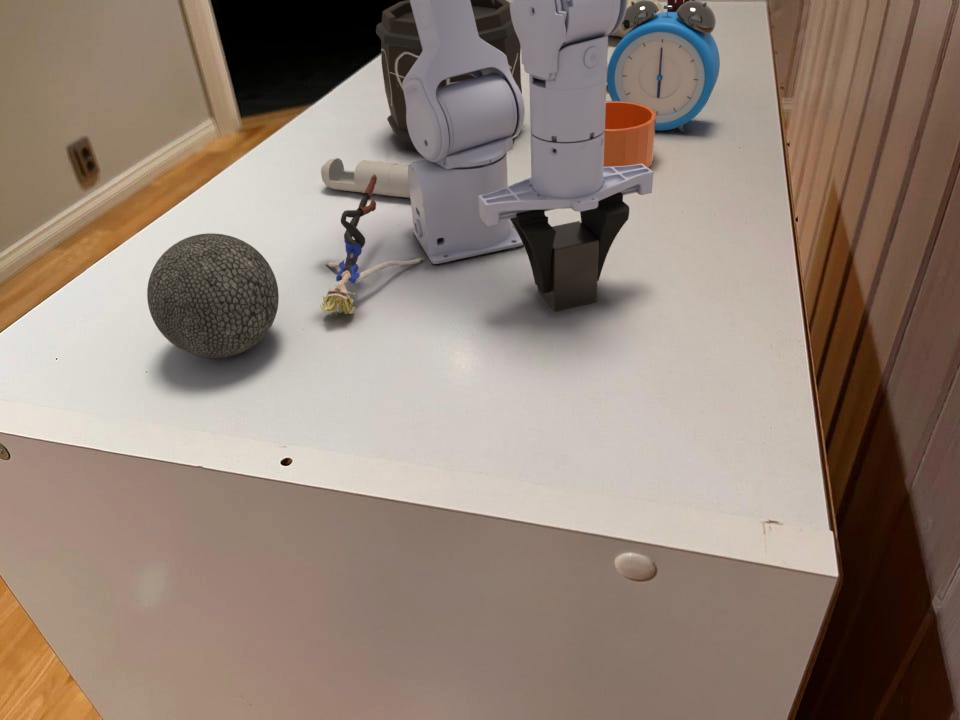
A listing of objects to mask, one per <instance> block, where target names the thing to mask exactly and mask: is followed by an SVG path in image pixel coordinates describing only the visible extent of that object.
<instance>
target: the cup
mask: <svg viewBox="0 0 960 720" xmlns="http://www.w3.org/2000/svg"><path fill="white" fill-rule="evenodd" d="M655 129H656V113H655V112H654V110H652V109H651V108H649V107H647V106H644V105H641V104H638V103H632V102H625V101H612V100H608V101H607V100H606V111H605V134H604V166H603V167H613V166H629V165H636V164H643V165H645V166H646V167H647V168H649V169H650V168H651V166H652V164H653V162H654V156H655V143H656V142H655V141H656V131H655Z"/></svg>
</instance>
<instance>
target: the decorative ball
mask: <svg viewBox="0 0 960 720" xmlns="http://www.w3.org/2000/svg"><path fill="white" fill-rule="evenodd" d="M146 290H147V291H146V296H147V297H146V298H147V306H148V310H149V313H150V316H151V318H152V320H153V323H154V324H155V325H154V326H156V328H157V330H158V331H159V332H160V333H161V335H162V337H164V338H165V339H166V340H167V341H168V342H169V343H171V344H172V345H173V346H175V347H176V348H178V349H179V350H181V351H183V352H185V353H187V354H190V355H193V356H196V357H200V358H208V359H222V358H229V357H234V356H236V355H239V354H242V353H244V352H246V351H247V350H249V349H251V348H252V347H254V346H255V345H257V344H258V343H260V341H261V340H263V338H264V337H265V336H266V335H267V333H269V331H270V329H271V328H272V325H273V323H274V322H275V319H276V316H277V313H278V309H279V300H280V299H279V298H280V297H279V296H280V294H279V286H278V282H277V279H276V276H275V273H274V271H273V269H272V267H271V265H270V263H269V262H268V260H267V259H266V258H265V257H264V256H263V254H262V253H261V252H259V251H258V250H257V249H256V248H255V247H254V246H252V245H251V244H249V243H248V242H246V241H244V240H242V239H240V238H237V237H235V236H232V235H229V234H223V233H215V232H211V233H209V232H208V233H199V234H195V235H191V236H188V237H185V238H183V239H180V240H179V241H178V242H176V243H174V244H173V245H172V246H170V247H168V249H166V250H165V251H164V252H163V253H162V254H161V256H160V257H159V258H158V259H157V261H156V262H155V264H154V266H153V268H152V270H151V272H150V275H149V279H148V282H147V289H146Z"/></svg>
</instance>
